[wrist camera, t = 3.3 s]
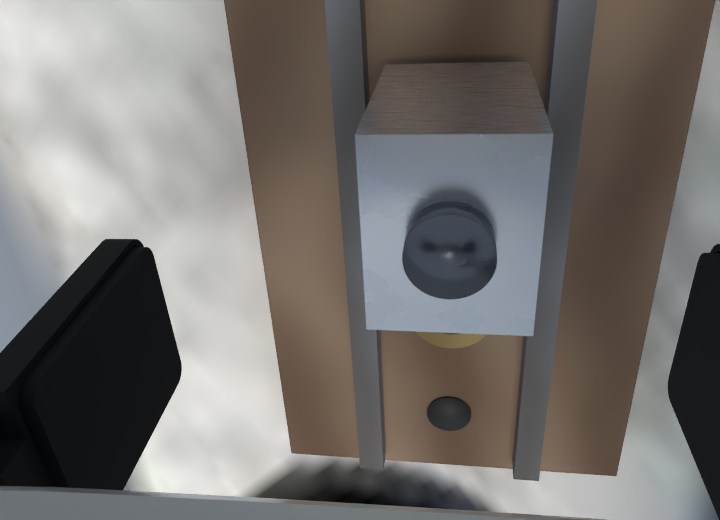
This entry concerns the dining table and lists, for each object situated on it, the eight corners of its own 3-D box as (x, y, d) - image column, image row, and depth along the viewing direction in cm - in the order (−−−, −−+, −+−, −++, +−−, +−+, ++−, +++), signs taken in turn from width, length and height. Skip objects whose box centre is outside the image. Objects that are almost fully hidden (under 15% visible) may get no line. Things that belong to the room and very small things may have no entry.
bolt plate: (762, -336, 15) (1016, -519, 8) (609, 449, 28) (657, 638, 21) (201, -277, 17) (20, -384, 10) (298, 429, 30) (248, 595, 23)
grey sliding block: (526, 54, 19) (558, 147, 12) (514, 210, 21) (536, 357, 15) (388, 57, 19) (348, 148, 13) (393, 209, 22) (362, 349, 15)
